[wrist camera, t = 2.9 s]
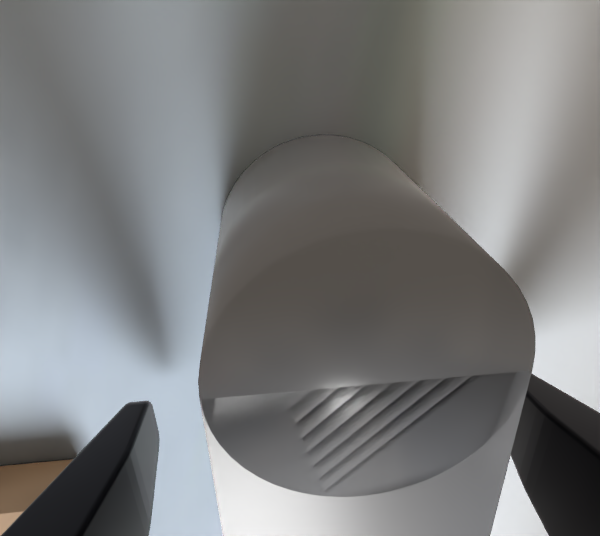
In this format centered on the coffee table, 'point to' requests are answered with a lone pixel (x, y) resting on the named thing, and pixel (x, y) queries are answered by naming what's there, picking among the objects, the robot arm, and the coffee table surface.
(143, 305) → the coffee table surface
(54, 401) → the coffee table surface
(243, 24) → the coffee table surface
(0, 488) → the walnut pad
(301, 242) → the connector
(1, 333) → the coffee table surface
